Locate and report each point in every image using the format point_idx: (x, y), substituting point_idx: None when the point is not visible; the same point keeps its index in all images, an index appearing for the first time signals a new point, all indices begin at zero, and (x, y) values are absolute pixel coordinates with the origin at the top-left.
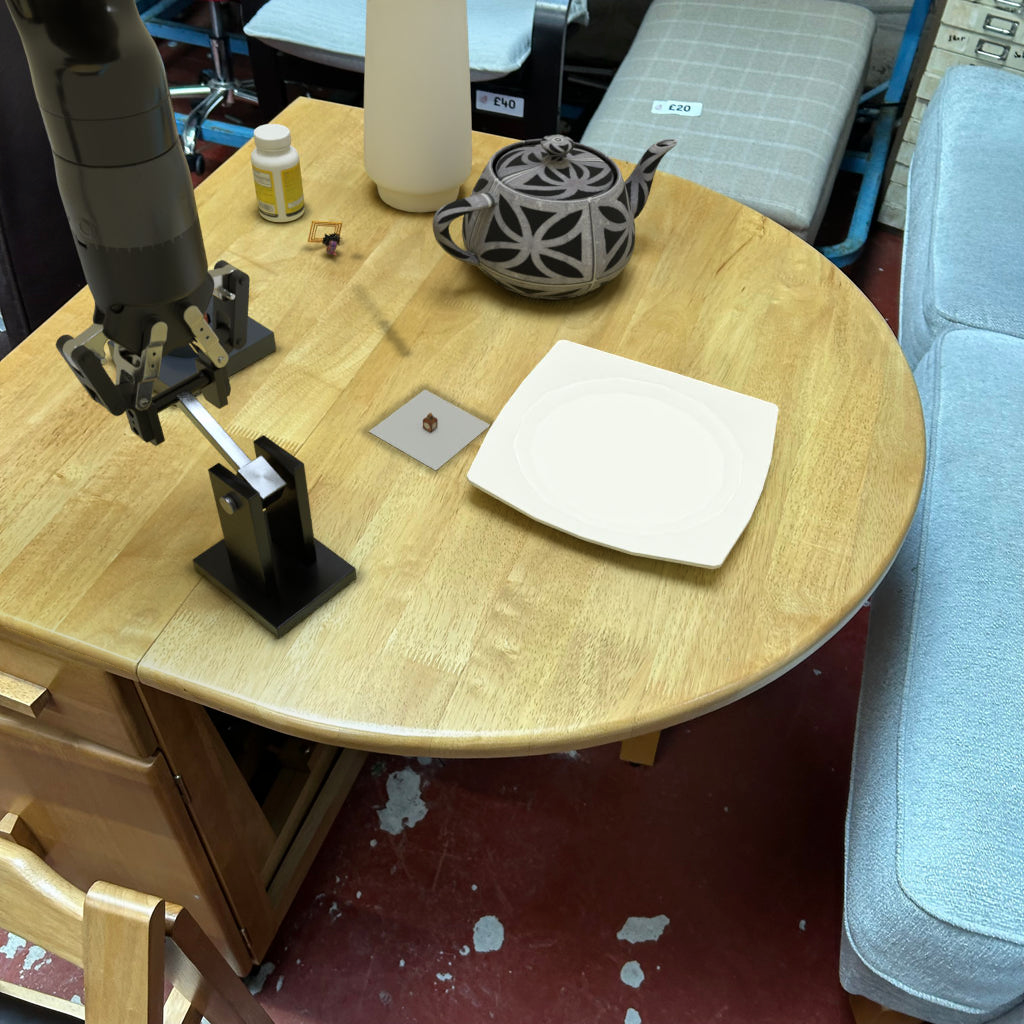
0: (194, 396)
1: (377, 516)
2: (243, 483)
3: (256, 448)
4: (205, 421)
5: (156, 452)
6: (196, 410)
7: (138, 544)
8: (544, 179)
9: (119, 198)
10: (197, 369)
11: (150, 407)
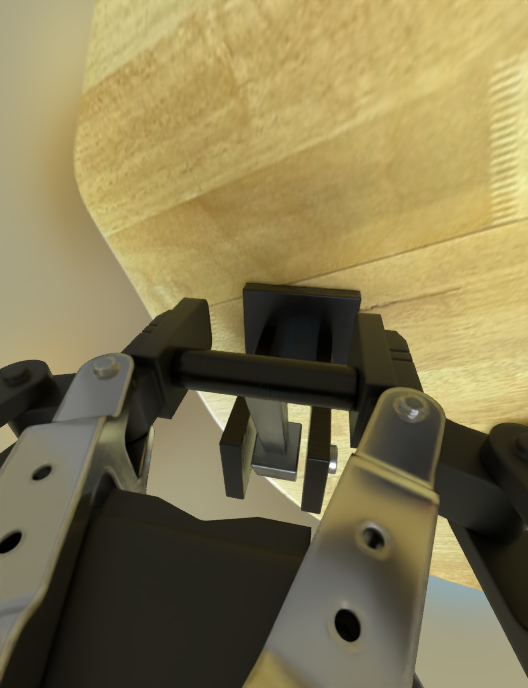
0: (280, 410)
1: (424, 373)
2: (238, 483)
3: (307, 452)
4: (264, 427)
5: (367, 15)
6: (263, 417)
7: (222, 201)
8: None
9: None
10: (362, 361)
11: (158, 416)
